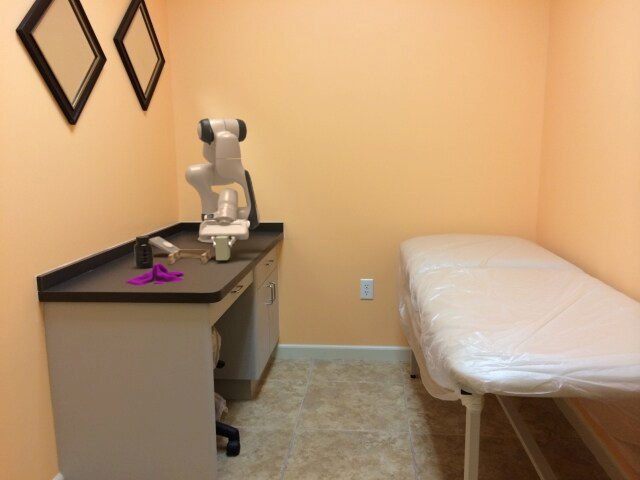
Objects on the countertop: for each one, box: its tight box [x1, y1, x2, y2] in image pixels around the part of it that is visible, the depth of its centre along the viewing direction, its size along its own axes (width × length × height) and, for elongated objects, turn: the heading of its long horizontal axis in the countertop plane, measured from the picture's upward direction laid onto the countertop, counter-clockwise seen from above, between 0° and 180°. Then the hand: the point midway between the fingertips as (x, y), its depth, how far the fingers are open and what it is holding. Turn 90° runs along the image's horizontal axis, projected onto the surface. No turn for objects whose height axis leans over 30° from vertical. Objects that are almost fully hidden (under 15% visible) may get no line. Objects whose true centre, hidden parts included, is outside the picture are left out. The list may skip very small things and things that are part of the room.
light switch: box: [149, 236, 182, 255], centre depth 218 cm, size 8×6×14 cm
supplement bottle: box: [133, 235, 155, 269], centre depth 195 cm, size 7×7×12 cm
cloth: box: [125, 262, 185, 286], centre depth 175 cm, size 22×19×6 cm
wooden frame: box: [167, 248, 213, 266], centre depth 206 cm, size 14×14×4 cm
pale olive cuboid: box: [214, 236, 231, 261], centre depth 203 cm, size 7×4×9 cm, turn 0°
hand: (222, 246), depth 202 cm, fingers closed on pale olive cuboid, 4 cm apart
